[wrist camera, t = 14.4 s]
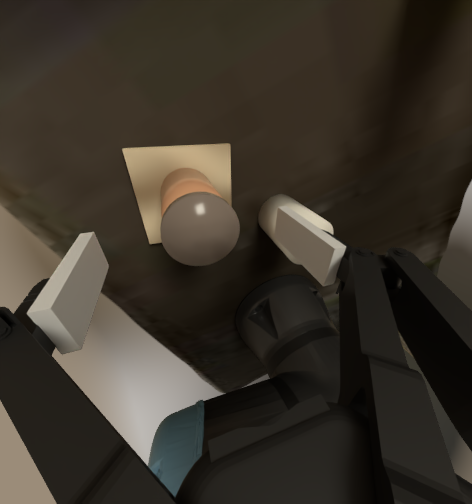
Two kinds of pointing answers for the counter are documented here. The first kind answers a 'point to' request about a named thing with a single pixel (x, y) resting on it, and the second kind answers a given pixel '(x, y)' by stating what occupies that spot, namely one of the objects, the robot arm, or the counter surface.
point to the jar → (196, 219)
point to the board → (164, 162)
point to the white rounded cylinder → (271, 205)
